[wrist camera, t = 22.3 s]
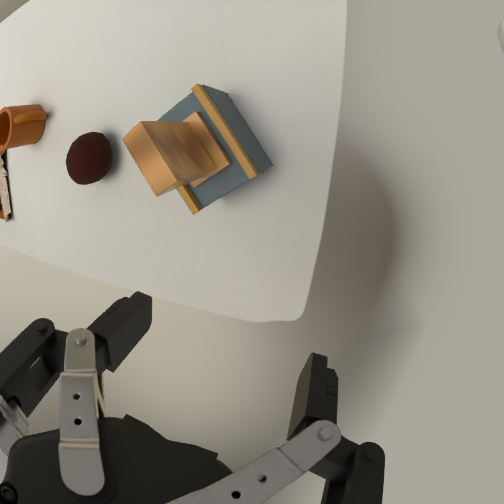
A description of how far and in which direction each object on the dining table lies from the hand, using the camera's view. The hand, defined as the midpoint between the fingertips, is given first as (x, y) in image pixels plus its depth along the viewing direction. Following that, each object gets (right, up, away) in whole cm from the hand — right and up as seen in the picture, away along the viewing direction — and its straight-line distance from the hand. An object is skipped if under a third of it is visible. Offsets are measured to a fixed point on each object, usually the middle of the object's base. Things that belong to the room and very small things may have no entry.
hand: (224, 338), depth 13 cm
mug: (-44, +31, +30) cm, 61 cm away
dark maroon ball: (-24, +20, +29) cm, 43 cm away
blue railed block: (-3, +19, +24) cm, 31 cm away
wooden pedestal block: (-5, +15, +17) cm, 23 cm away
